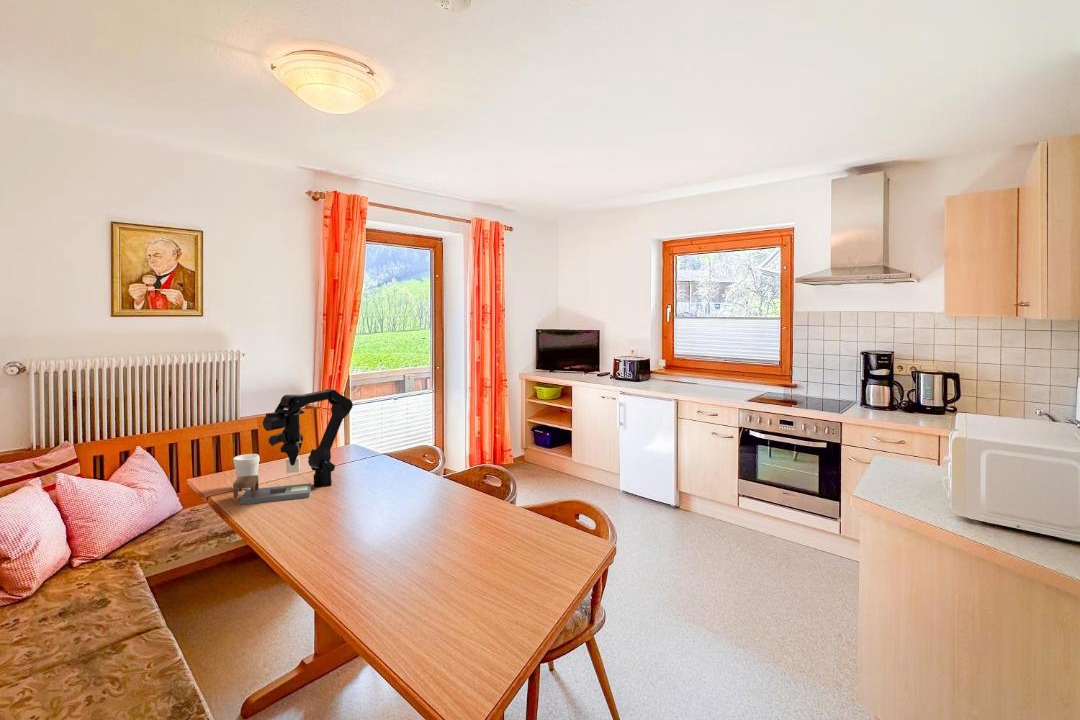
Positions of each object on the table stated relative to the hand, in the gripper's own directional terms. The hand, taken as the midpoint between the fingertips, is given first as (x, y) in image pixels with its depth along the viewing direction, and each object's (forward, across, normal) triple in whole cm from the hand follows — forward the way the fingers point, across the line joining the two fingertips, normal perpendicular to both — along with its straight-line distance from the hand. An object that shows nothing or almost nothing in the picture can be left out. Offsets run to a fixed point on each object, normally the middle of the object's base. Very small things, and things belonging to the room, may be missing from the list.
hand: (293, 463), depth 198 cm
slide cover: (+10, +1, -17) cm, 20 cm away
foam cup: (+13, -15, -20) cm, 28 cm away
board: (+13, 0, -6) cm, 14 cm away
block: (+3, 0, 0) cm, 3 cm away
